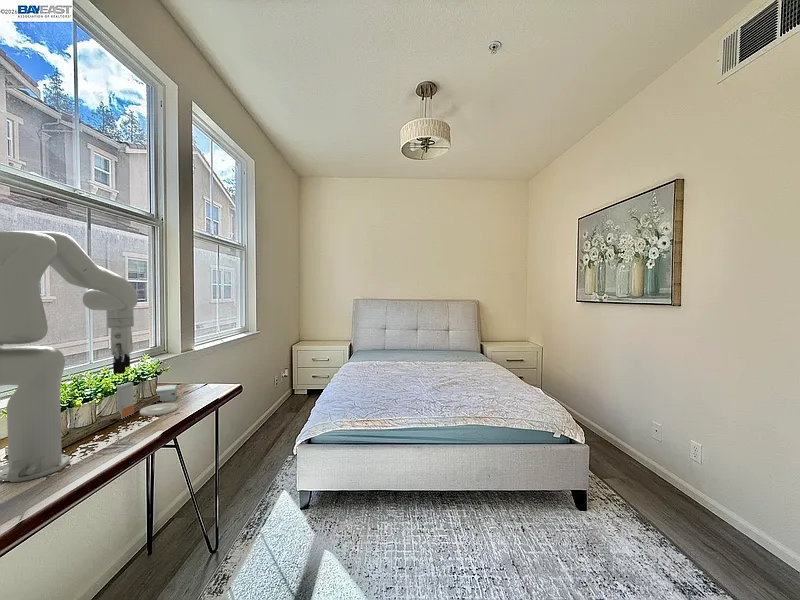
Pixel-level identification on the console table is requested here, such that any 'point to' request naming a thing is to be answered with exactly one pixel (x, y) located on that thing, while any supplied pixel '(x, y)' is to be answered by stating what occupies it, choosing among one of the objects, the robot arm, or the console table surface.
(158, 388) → the small box
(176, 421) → the console table surface
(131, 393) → the skincare box
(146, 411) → the ceramic dish
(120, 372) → the robot arm
